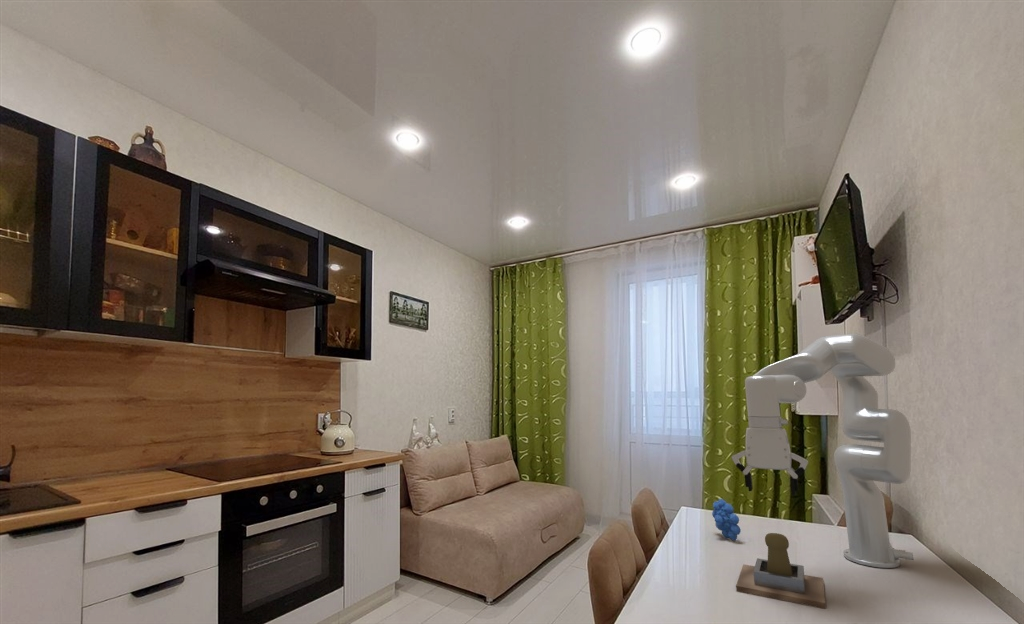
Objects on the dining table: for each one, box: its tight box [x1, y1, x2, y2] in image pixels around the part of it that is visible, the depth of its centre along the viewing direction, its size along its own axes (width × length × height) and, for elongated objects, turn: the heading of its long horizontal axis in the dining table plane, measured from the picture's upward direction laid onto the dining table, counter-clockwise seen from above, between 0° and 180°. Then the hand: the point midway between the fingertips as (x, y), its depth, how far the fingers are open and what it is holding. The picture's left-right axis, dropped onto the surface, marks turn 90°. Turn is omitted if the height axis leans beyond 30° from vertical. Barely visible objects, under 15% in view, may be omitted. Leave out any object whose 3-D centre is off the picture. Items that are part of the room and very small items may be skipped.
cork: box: [764, 532, 793, 577], centre depth 115 cm, size 6×6×11 cm
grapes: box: [711, 498, 741, 541], centre depth 151 cm, size 12×7×12 cm, turn 16°
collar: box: [753, 558, 806, 594], centre depth 114 cm, size 10×10×3 cm
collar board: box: [735, 563, 826, 610], centre depth 114 cm, size 18×16×1 cm
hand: (771, 492), depth 117 cm, fingers open, 9 cm apart
